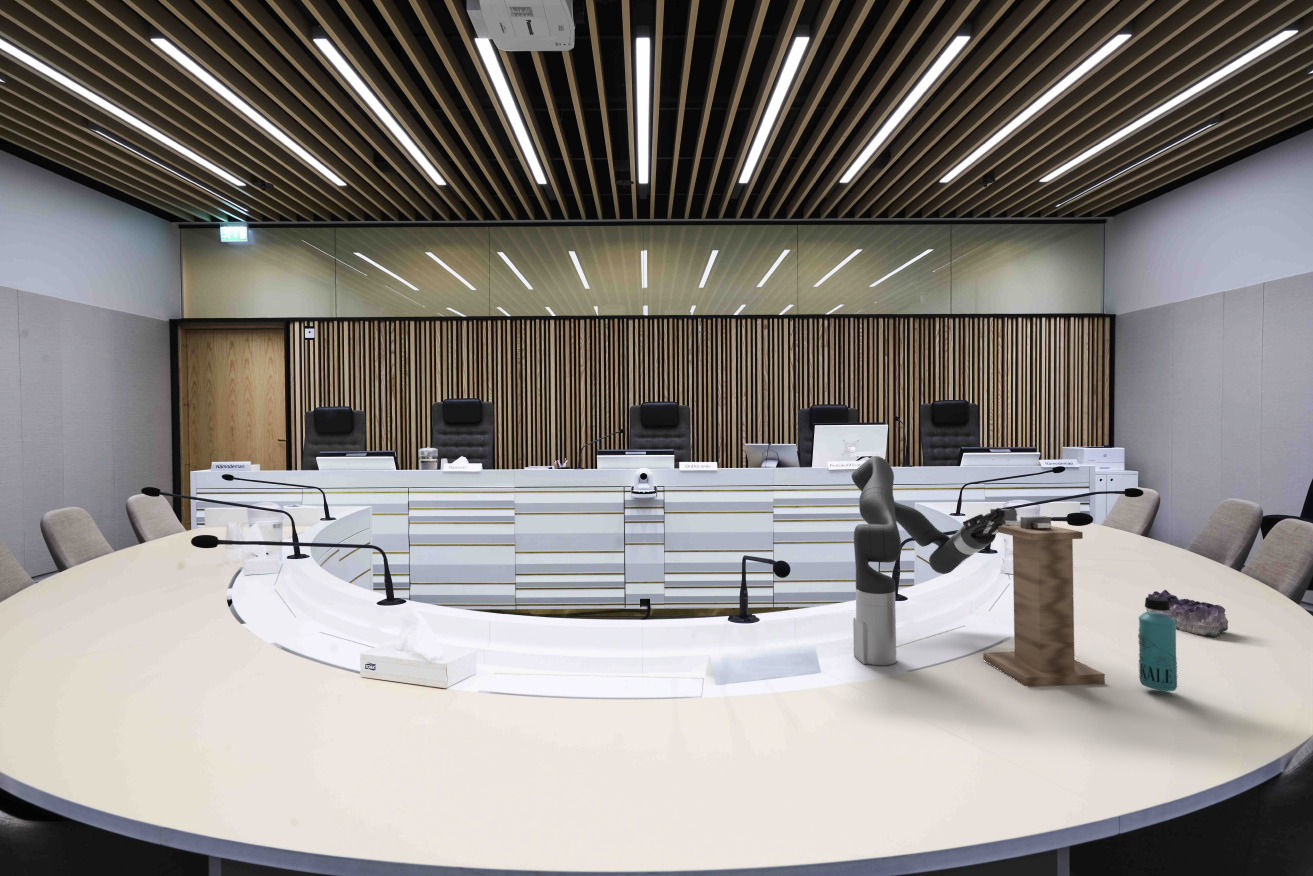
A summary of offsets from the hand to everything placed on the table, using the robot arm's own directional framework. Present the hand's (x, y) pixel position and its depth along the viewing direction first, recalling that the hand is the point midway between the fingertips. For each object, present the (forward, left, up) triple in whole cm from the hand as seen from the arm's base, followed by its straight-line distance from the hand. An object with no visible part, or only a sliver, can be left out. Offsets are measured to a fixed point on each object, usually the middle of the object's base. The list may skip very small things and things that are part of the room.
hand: (1007, 511), depth 158 cm
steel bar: (0, -6, -3) cm, 6 cm away
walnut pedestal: (0, -12, -36) cm, 38 cm away
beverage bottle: (+16, -26, -36) cm, 47 cm away
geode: (+61, +16, -36) cm, 73 cm away
